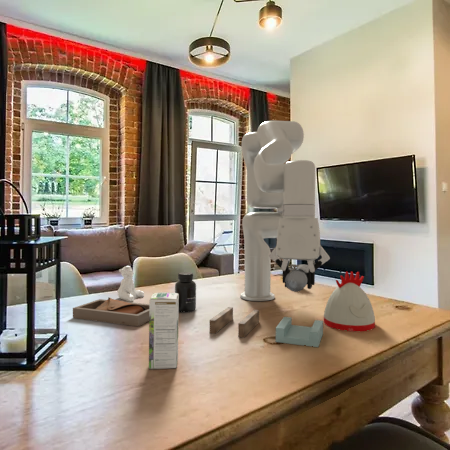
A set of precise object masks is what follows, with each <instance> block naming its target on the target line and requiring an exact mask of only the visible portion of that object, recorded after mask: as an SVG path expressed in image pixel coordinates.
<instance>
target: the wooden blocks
mask: <svg viewBox="0 0 450 450" xmlns="http://www.w3.org/2000/svg"><path fill="white" fill-rule="evenodd" d="M233 319H234V307H231V306H228V307H227V308H225V309H223V310H222V311H221V312H219V313H218V314H216V315H214V316H213V317H212V318H210V319H209V334H212V335H215V334H217V333H218V332H219V331H220V330H221V329H223V328H224V327H225V326H226V325H228V324H229V323H231V322H232V321H233ZM259 323H260V310H259V309H253V310H252V311H251V312H249V313H248V315H246V316H245V317H244V318H243V319H242V320H240V322H238V337H237V338H245V337H247V335H248V334H249V333H250V332H251V331H252V330H253V329H254V328H255V327H256V326H257V325H258V324H259Z"/></svg>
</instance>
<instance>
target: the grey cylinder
mask: <svg viewBox="0 0 450 450" xmlns="http://www.w3.org/2000/svg"><path fill="white" fill-rule="evenodd" d="M298 265H299V266H298V267H296V268H295V269H294V270H292V271H291V272H290V273H288V274H287V276H286V278H285V283H286V286H287V287H288V288H287V287H286V288H287V289H289V290H290V291H291V292H296V293H299V292H301V291H303V290H304V289H305V287H306V286H307V281H308V279H307V273H308V272H309V266H308V264H298ZM285 283H284V284H285ZM303 288H304V289H303Z"/></svg>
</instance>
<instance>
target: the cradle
mask: <svg viewBox="0 0 450 450" xmlns="http://www.w3.org/2000/svg"><path fill="white" fill-rule="evenodd" d="M292 320H293V319H292V316H291V317H290V316H289V317H288V316H284V317H282V319H281V320H280V322H279V323H278V324H277V326H276V327H275V343H282V344H290V345H298V346H304V345H306V347H312V346H313V347H312V348H319V346H320V343H321V340H322V338H323V335H324V320H320V319H315V320H314V322H313V324H312V326H305V325H296V324H295V325H294V324H292V323H293V322H292Z"/></svg>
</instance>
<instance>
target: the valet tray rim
mask: <svg viewBox="0 0 450 450" xmlns="http://www.w3.org/2000/svg"><path fill="white" fill-rule="evenodd" d="M106 300H107V299H102V298H99V299H96V300H93V301H90V302H87V303H84V304H81V305H77V306H75V307H72V319H77V320H85V321H95V322H102V323H109V324H116V325H124V326H130V327H136V328H137V327H140V326H141V325H145V324H146V323H149V303H140V302H139V303H138V302H133V301H132V302H129V301H126V302H127V303H131V304H137V305H141V306H143V307H144V308H145V309H146V310H145V311H143V312H141V313H139V314H130V313H121V312H113V311H105V310H96V308H97V307H99V306H100V305H101V304H102V303H104V302H105V301H106ZM122 322H124V323H122Z"/></svg>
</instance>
